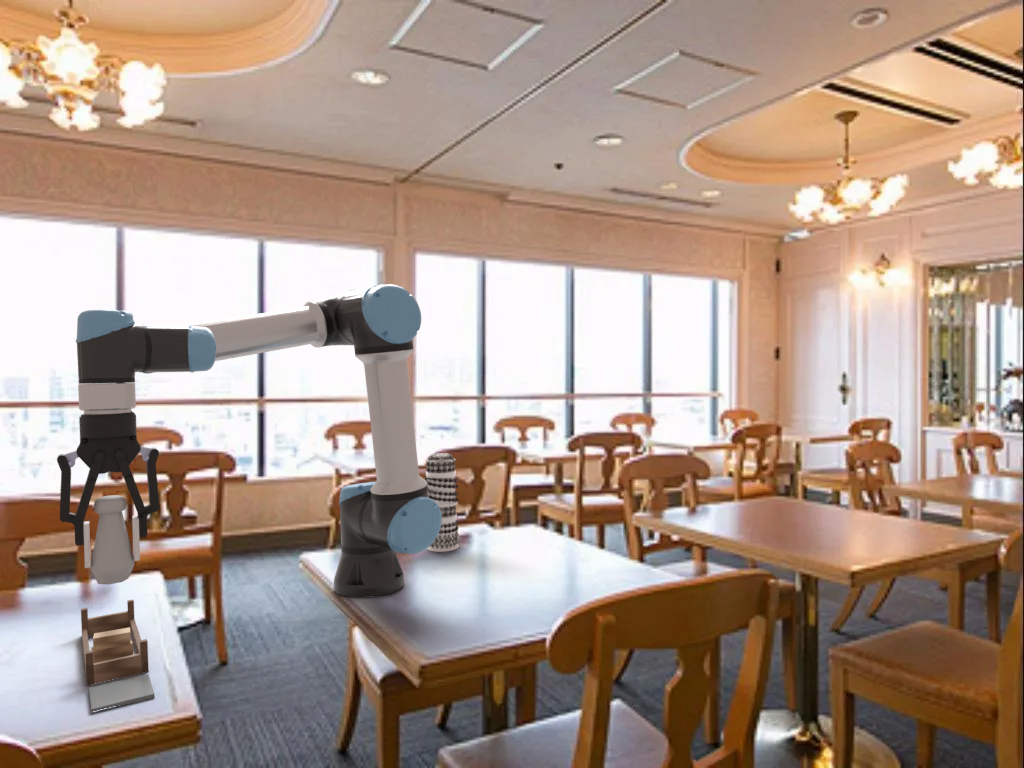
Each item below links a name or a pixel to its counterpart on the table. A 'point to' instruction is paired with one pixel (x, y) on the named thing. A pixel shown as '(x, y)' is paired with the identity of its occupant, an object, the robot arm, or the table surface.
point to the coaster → (121, 692)
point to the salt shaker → (111, 542)
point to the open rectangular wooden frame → (118, 665)
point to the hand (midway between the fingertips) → (112, 561)
